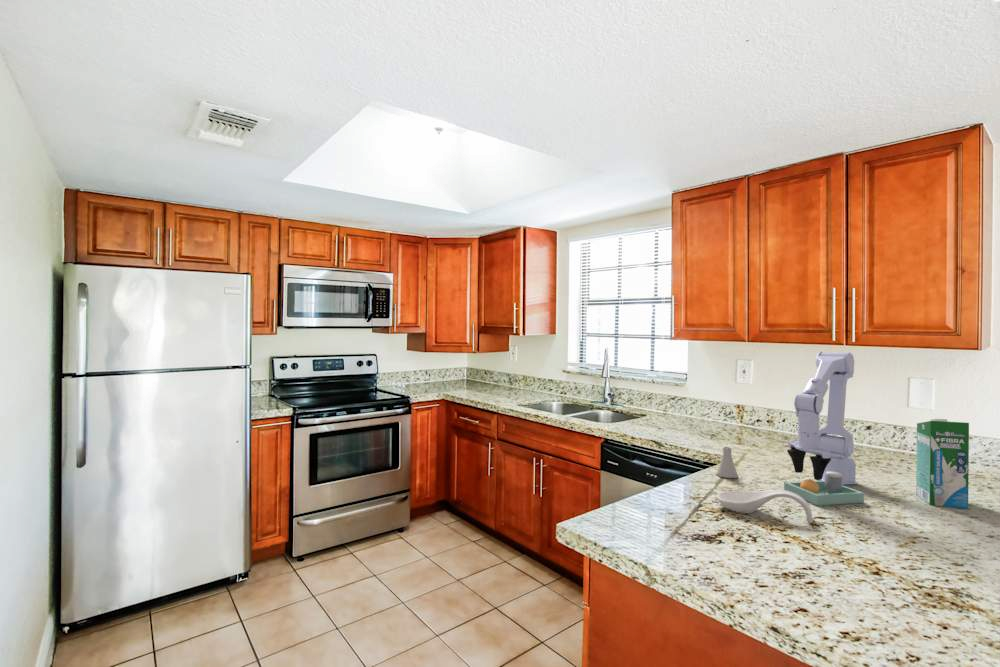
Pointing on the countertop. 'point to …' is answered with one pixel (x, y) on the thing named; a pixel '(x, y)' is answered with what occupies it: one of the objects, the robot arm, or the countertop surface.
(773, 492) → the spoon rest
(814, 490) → the ball
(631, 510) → the countertop surface
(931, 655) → the countertop surface
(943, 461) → the milk carton
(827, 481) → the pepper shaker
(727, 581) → the countertop surface
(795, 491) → the tray
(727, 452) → the flask
